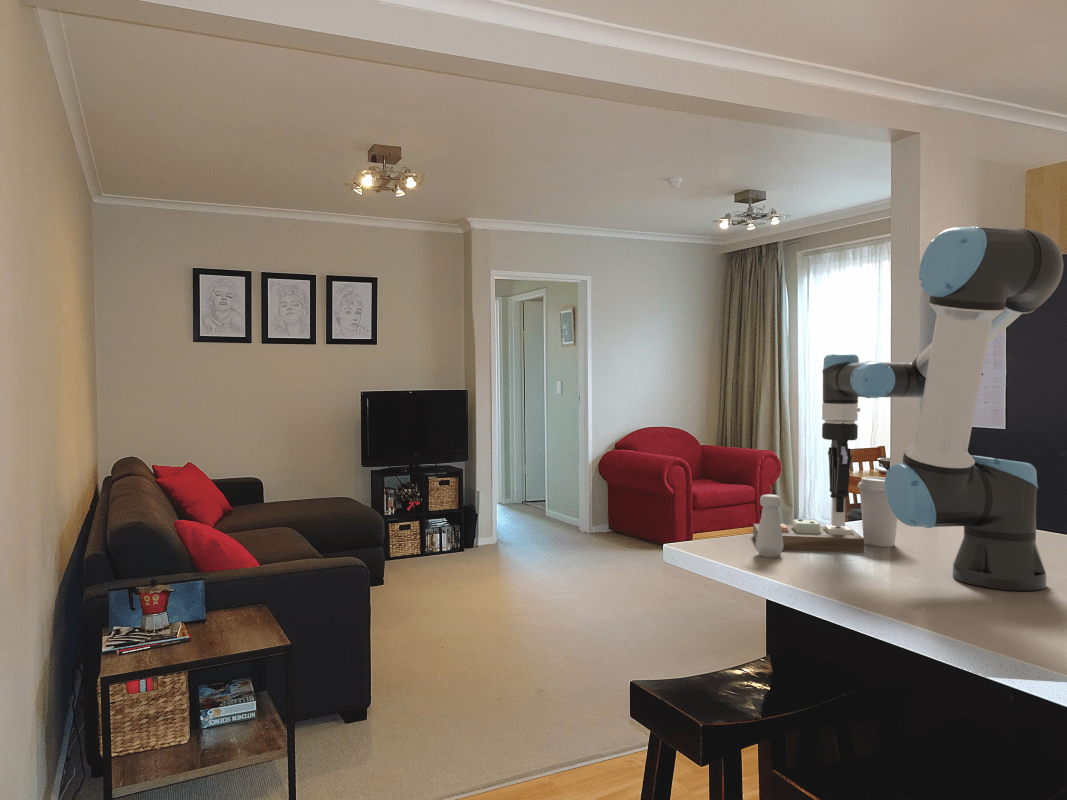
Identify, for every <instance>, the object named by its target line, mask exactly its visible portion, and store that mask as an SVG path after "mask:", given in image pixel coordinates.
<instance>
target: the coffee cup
mask: <svg viewBox="0 0 1067 800" xmlns="http://www.w3.org/2000/svg"><path fill="white" fill-rule="evenodd" d="M885 477H886V476H885ZM885 477H884V476H883V477H881V476H863V477H861V479H860V481H859V482H858V483H857V488H858V489H859V497H860V509H861V520H862V521H861V523H862V535H863V536H862V537H863V538H864V543H865V544H864V545H867V546H872V547H878V548H880V547H881V548H891V547H892V548H893V547H894V546H895V544H896V534H897V525H898V518H897V517H896V516H895V515H894V513H893V512H892V510H891V508H890V505H889V503H888V501H887V498H886V493H885Z"/></svg>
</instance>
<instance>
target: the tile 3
mask: <svg viewBox="0 0 1067 800" xmlns="http://www.w3.org/2000/svg"><path fill="white" fill-rule="evenodd" d="M780 525H781V531H782V533H787V527H786V525H787V524H785V523H780Z"/></svg>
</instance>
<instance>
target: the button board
mask: <svg viewBox="0 0 1067 800" xmlns="http://www.w3.org/2000/svg"><path fill="white" fill-rule="evenodd" d="M759 524H760V523H753V525H752V527H753V529H752V531H753V532H752V534H753V535H752V536H753V539H754V540H755V541H756V539H757V534H758V529H759ZM785 525H786V527H787V533H782V538H783V544H784V547H783V550H790V549H797V550H796V551H814V550H821V552H838V551H847V552H846V553H863V552H864V553H865V544H864V538H863V536H861V535H860V534H859V532H856V531H855V530H854V529H853V528H851V527H850V526H848V527H849V528H851V529H852V535H831V534H827V533H826V532H825V525H824V526H823V525H820V534H805V533H795V531H794V530H793V524H785ZM822 550H824V551H822Z"/></svg>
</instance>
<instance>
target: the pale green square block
mask: <svg viewBox="0 0 1067 800" xmlns="http://www.w3.org/2000/svg"><path fill="white" fill-rule="evenodd" d="M792 525H793V530H794V531H795V533H805V534H820V526H821V525H820V523H819V521H817V520H815V519H813V520H812V519H793V521H792Z"/></svg>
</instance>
